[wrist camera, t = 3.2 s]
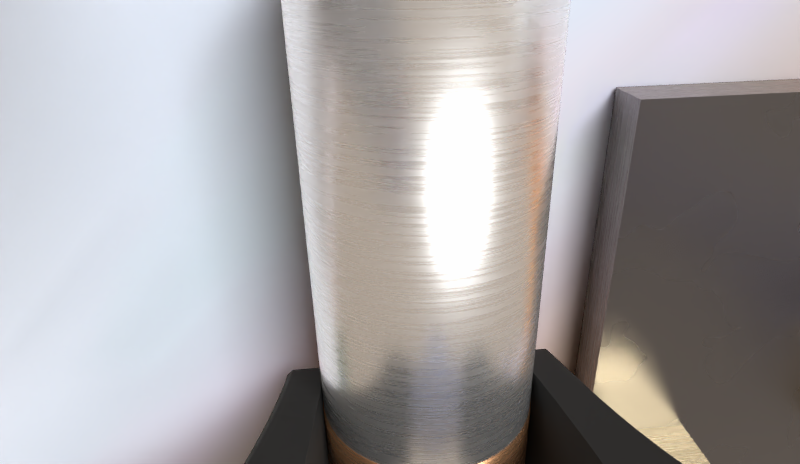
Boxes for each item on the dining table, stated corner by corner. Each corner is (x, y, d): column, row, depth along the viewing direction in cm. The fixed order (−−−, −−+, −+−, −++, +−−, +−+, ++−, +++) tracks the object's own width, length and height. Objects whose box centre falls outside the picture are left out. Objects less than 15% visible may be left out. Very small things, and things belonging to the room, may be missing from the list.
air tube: (280, -85, 9) (251, -106, 6) (525, -90, 10) (643, -113, 6) (349, 601, 17) (355, 773, 14) (481, 584, 18) (521, 748, 14)
